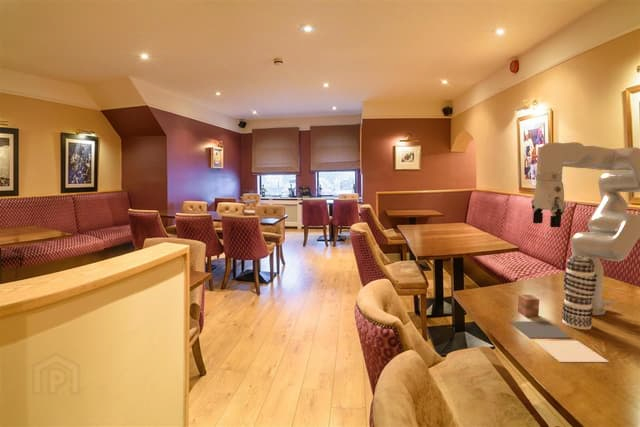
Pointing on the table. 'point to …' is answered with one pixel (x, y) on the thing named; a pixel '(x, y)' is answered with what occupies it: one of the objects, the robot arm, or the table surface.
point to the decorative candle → (579, 292)
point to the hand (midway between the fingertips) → (546, 225)
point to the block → (528, 305)
